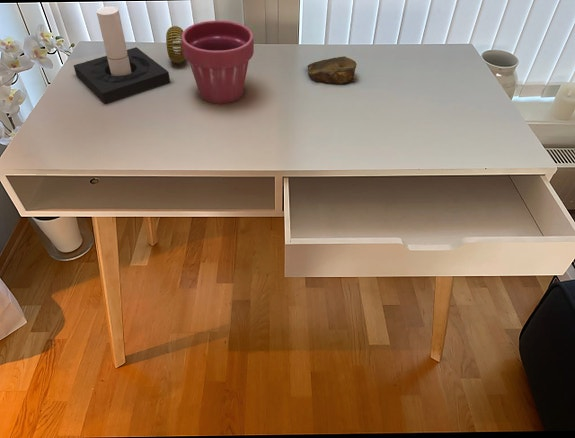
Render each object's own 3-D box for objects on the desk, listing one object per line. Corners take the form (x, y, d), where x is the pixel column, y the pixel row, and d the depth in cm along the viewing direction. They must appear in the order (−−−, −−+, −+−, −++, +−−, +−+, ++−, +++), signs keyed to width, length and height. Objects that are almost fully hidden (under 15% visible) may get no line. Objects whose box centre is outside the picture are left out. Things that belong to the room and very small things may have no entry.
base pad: (105, 104, 105) (102, 93, 103) (76, 75, 113) (73, 65, 111) (170, 82, 112) (168, 71, 110) (138, 57, 120) (136, 47, 118)
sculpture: (171, 53, 121) (166, 20, 116) (188, 53, 122) (184, 19, 116) (168, 69, 116) (163, 35, 110) (186, 69, 116) (182, 34, 110)
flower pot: (266, 101, 107) (265, 41, 98) (203, 117, 102) (196, 56, 93) (238, 71, 116) (235, 14, 107) (179, 85, 111) (170, 26, 102)
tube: (123, 85, 110) (107, 16, 100) (108, 80, 112) (91, 11, 101) (136, 77, 113) (123, 9, 102) (122, 72, 114) (107, 4, 104)
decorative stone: (310, 86, 112) (311, 71, 109) (305, 65, 118) (305, 51, 116) (357, 84, 112) (359, 69, 110) (349, 64, 119) (351, 49, 117)
